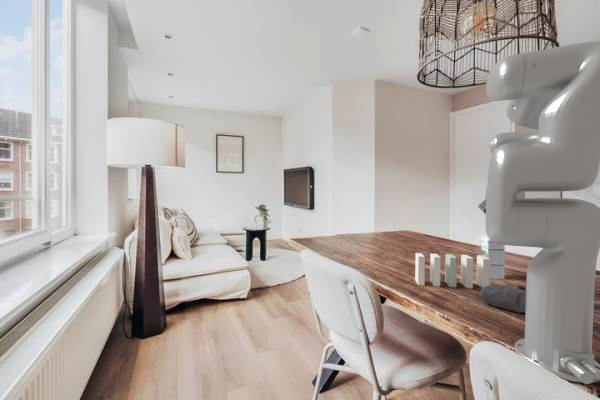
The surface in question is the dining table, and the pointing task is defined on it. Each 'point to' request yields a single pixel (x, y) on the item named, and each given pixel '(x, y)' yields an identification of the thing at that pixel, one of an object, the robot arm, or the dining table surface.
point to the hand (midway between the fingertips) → (504, 229)
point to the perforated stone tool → (505, 297)
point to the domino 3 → (450, 270)
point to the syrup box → (494, 257)
